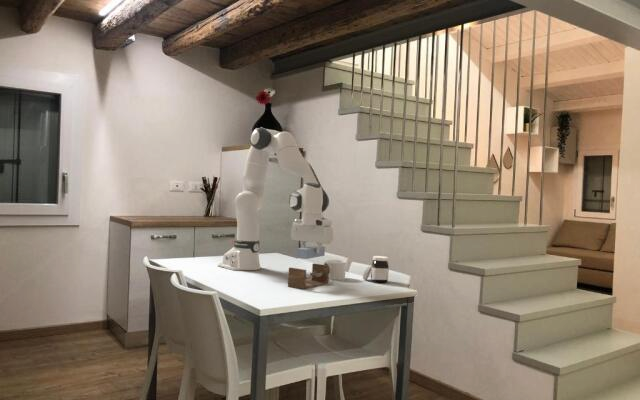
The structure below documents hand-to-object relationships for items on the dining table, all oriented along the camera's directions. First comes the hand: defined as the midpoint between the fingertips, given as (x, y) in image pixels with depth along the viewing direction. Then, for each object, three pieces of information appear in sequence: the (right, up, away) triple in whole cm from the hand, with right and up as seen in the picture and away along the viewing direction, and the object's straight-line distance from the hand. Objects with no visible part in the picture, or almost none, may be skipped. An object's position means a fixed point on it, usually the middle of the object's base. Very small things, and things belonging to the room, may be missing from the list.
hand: (311, 252), depth 228 cm
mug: (+10, -14, +22) cm, 28 cm away
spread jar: (+30, -15, +17) cm, 37 cm away
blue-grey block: (0, -2, 0) cm, 2 cm away
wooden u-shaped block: (-1, -14, 0) cm, 14 cm away
